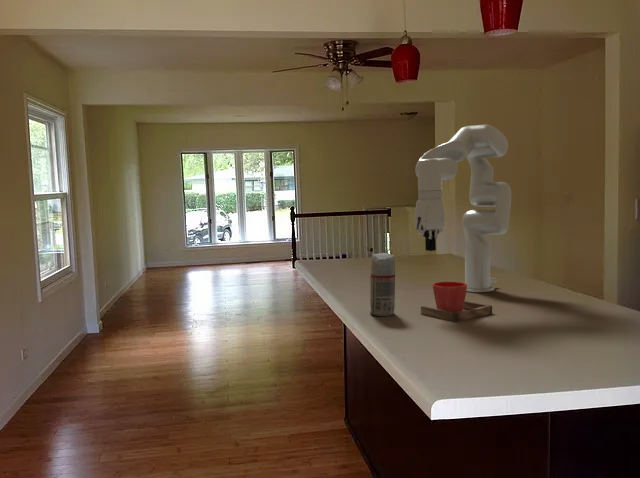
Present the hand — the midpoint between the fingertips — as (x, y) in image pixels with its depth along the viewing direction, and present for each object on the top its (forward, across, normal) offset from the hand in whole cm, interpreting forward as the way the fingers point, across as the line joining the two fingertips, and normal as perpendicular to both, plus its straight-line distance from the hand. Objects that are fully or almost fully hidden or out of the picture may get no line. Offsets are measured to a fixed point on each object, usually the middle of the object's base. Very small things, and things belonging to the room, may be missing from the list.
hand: (430, 250), depth 195 cm
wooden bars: (+20, +1, +11) cm, 23 cm away
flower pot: (+20, +2, +10) cm, 22 cm away
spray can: (+20, +19, -4) cm, 27 cm away
